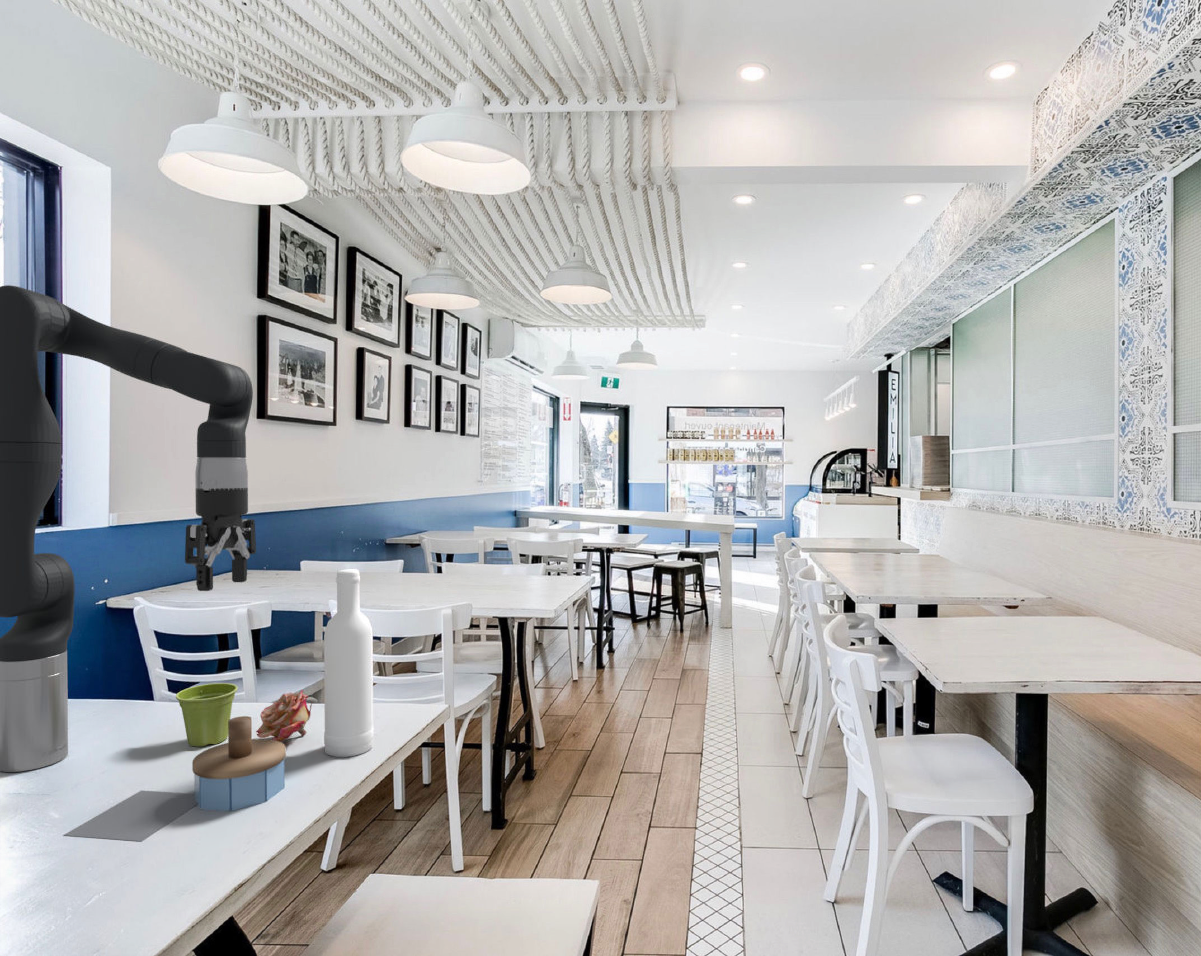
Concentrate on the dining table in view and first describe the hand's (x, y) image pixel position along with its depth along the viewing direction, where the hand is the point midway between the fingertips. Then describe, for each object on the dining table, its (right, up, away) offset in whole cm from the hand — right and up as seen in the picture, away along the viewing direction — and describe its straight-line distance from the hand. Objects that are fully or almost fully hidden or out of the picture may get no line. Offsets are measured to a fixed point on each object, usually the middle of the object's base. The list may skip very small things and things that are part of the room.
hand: (222, 586), depth 118 cm
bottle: (+19, -28, +5) cm, 34 cm away
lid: (+9, -23, -13) cm, 28 cm away
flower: (+6, -28, +9) cm, 30 cm away
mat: (-1, -28, -20) cm, 35 cm away
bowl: (+9, -28, -13) cm, 32 cm away
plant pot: (-7, -28, +8) cm, 30 cm away
